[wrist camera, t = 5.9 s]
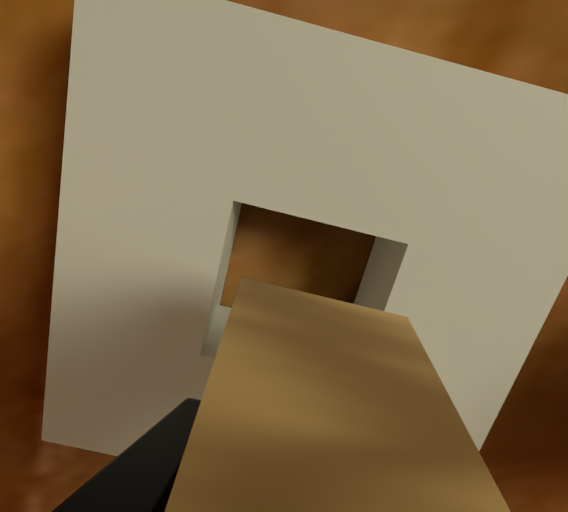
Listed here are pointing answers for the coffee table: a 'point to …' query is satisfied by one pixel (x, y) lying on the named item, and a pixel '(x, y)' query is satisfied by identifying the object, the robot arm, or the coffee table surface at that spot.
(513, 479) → the coffee table surface
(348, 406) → the peg
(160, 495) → the robot arm
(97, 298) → the socket block
